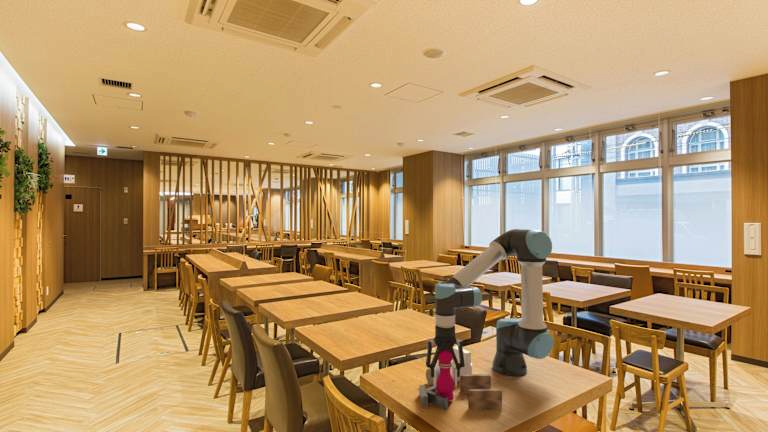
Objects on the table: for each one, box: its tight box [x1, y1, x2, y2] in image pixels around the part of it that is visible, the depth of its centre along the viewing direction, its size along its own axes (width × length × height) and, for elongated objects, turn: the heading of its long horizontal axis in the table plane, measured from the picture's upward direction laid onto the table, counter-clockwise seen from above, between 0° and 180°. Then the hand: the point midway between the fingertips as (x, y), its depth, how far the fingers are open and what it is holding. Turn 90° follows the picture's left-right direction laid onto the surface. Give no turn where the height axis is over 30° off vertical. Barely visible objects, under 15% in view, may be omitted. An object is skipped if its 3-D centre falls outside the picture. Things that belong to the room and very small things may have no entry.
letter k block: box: [418, 384, 449, 411], centre depth 151 cm, size 9×14×4 cm, turn 2°
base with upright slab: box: [450, 345, 473, 382], centre depth 173 cm, size 9×9×12 cm
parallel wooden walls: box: [459, 373, 503, 411], centre depth 151 cm, size 12×15×7 cm
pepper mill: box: [436, 350, 456, 402], centre depth 151 cm, size 7×7×20 cm
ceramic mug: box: [425, 364, 440, 387], centre depth 164 cm, size 11×8×8 cm
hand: (445, 385), depth 151 cm, fingers open, 7 cm apart
